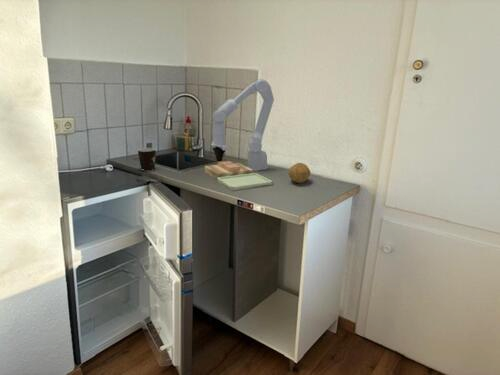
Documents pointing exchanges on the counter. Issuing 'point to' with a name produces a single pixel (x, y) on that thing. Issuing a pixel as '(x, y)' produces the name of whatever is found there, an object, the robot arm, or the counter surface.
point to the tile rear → (224, 163)
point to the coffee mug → (147, 158)
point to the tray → (244, 181)
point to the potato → (299, 172)
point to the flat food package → (220, 172)
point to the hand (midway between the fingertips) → (219, 161)
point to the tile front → (232, 167)
